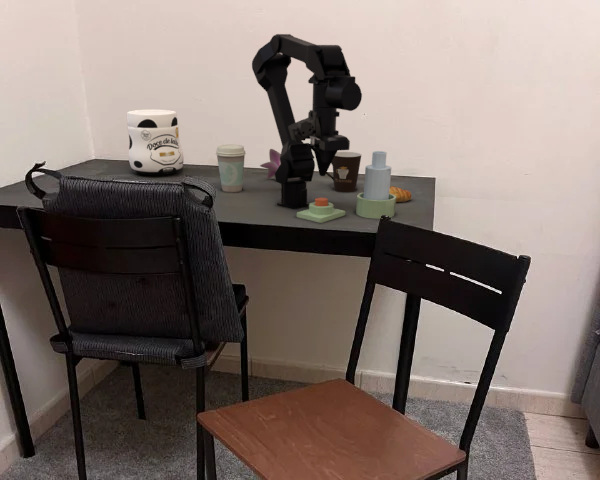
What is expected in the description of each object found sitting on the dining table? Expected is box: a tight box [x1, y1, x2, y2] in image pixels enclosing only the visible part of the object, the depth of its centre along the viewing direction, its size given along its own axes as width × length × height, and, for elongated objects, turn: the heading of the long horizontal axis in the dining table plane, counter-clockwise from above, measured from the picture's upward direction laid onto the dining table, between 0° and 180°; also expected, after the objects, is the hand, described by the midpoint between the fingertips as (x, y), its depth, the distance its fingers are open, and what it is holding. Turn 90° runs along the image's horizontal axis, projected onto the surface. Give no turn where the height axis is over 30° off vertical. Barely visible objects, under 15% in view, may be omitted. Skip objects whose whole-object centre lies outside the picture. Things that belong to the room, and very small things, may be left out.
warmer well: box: [355, 191, 397, 220], centre depth 160 cm, size 10×10×4 cm
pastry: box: [389, 185, 412, 203], centre depth 173 cm, size 9×7×4 cm
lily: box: [259, 148, 281, 180], centre depth 190 cm, size 12×12×10 cm
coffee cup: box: [215, 144, 247, 193], centre depth 178 cm, size 8×8×12 cm
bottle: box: [363, 150, 392, 200], centre depth 157 cm, size 6×6×14 cm
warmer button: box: [314, 197, 329, 206], centre depth 156 cm, size 3×3×2 cm
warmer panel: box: [296, 201, 346, 224], centre depth 157 cm, size 8×10×3 cm
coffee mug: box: [326, 151, 362, 193], centre depth 182 cm, size 12×9×10 cm
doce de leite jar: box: [126, 109, 185, 176], centre depth 196 cm, size 17×17×18 cm
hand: (322, 175), depth 153 cm, fingers closed
